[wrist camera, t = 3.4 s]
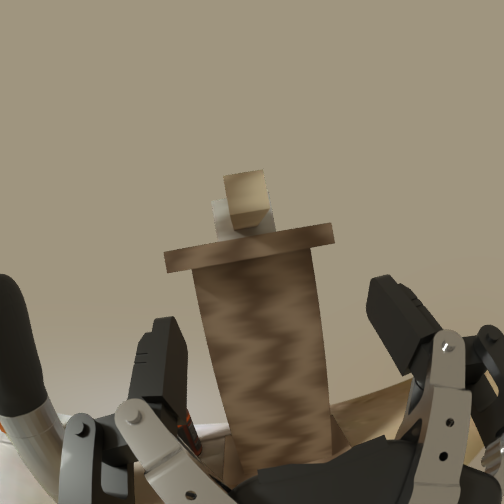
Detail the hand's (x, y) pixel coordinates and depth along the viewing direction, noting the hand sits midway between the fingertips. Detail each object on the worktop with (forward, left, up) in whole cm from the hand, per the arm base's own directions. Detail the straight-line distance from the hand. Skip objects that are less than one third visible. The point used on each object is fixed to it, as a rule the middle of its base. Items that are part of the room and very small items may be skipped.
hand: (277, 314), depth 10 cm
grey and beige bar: (0, +15, +4) cm, 15 cm away
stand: (0, +20, -28) cm, 35 cm away
